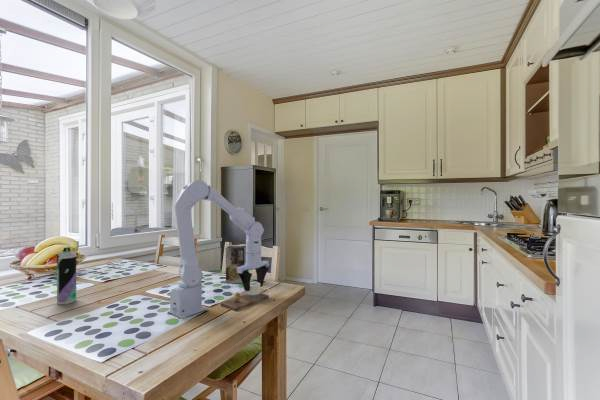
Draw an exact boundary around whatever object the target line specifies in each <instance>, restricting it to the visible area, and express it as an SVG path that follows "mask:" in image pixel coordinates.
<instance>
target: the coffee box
mask: <svg viewBox="0 0 600 400" xmlns="http://www.w3.org/2000/svg"><path fill="white" fill-rule="evenodd" d="M245 263H246V245H229V246H227V247H225V284H243V283H242V280H241V278H240V276H239V275H238V273H237V267H240V266H242V265H245Z"/></svg>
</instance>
